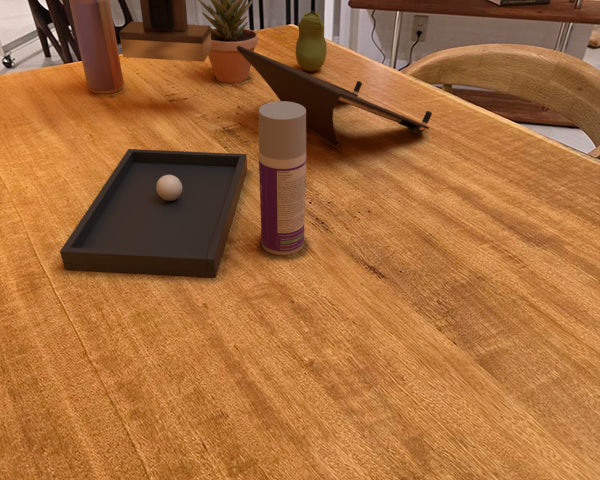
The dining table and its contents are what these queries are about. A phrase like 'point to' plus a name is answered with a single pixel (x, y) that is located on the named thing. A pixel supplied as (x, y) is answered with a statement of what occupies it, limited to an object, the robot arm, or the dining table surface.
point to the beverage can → (97, 45)
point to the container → (282, 176)
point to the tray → (160, 216)
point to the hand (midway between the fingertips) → (165, 24)
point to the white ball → (169, 187)
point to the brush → (166, 37)
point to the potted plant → (230, 40)
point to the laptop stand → (319, 96)
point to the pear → (311, 42)
